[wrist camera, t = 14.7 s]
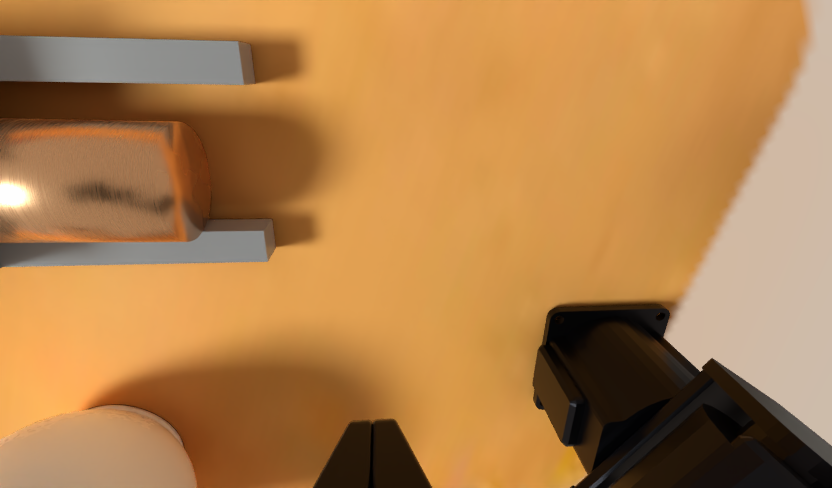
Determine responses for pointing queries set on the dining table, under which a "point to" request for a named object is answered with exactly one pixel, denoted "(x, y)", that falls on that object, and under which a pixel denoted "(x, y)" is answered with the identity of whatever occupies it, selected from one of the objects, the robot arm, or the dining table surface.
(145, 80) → the gray forked cradle
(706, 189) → the dining table surface
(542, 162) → the dining table surface
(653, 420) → the robot arm
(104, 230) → the pipe stub
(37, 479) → the lidded jar
